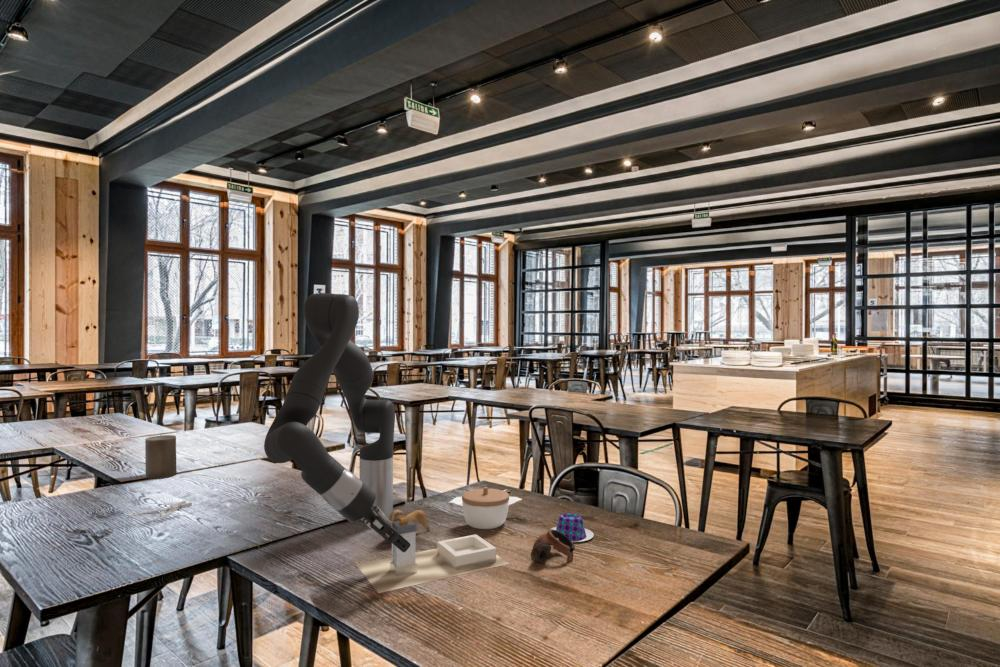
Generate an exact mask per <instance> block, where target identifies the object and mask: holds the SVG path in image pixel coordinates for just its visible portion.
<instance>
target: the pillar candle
mask: <svg viewBox="0 0 1000 667" xmlns="http://www.w3.org/2000/svg"><path fill="white" fill-rule="evenodd" d="M176 436H177V435H173V434H167V435H162V433H160V435H155V436H151V437H150V436H149V437H146V438H145V441H144V442H145V447H144V448H145V457H144V458H145V463H144V464H145V478H146V479H151V480H152V479H153V480H154V479H157V480H158V479H166V478H170V477H174V476H176V475H177V471H178V470H177V468H178V467H177V437H176Z"/></svg>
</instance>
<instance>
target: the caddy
mask: <svg viewBox="0 0 1000 667" xmlns="http://www.w3.org/2000/svg"><path fill="white" fill-rule="evenodd" d="M436 542H437V543H436V544H437V545H436V546H437V548H436V549H437V555H438V556H440V557H441V558H442V559H443V560H444V561H445V562H447V563H448V564H449V565H450V566H451V567H452V568H454V569H455V570H460V569H464V568H469V567H473V566H478V565H483V564H487V563H492V562H496V555H497V547H495V546H494V545H492V544H491V543H489V542H488V541H486V539H484V538H482V537H481V536H479V535H478V534H470V535H466V536H460V537H455V538H450V539H449V538H448V539H444V540H439V541H436Z"/></svg>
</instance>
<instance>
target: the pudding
mask: <svg viewBox="0 0 1000 667" xmlns="http://www.w3.org/2000/svg"><path fill="white" fill-rule="evenodd" d="M550 529H553V530H556V531H558V532H560V533H562V534H563V535H565V536H566V537H567V538H568V539H570V540H571V541H572V543H581V542H585V541H589V540H591V539H593V538H594V536H595V535H594V533H593V531H592V530H590V529H588V528H585V525H584V520H583V518H582V516H581V515H579V514H576V513H568V512H567V513H563V514H561V515H559V517H558V521H557V525H556V526H554V527H551V528H550ZM556 539H557V540H559V538H556Z"/></svg>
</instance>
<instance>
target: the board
mask: <svg viewBox="0 0 1000 667" xmlns="http://www.w3.org/2000/svg"><path fill="white" fill-rule="evenodd" d="M390 562H392V556H391V557H386V558H382V559H376V560H372V561H366V562H362V563H361V562H360V563H356V564H355V566H356V567H357V568H358V570H359V571H360V572H361V573H362V575H363V576H364V578H366V580H367V581H368V583H369V584H370V585H371V586H372V587H373V589H374V590H375V591H376V593H377V594H382V593H386V592H390V591H396V590H400V589H403V588H408V587H409V588H410V587H413V586H417V585H422V584H426V583H430V582H431V583H432V582H434V581H440V580H444V579H448V578H453V577H457V576H461V575H466V574H471V573H475V572H480V571H485V570H489V569H493V568H497V567H501V566H507V565H510V563H509V562H508V561H506V559H504V558H502V557H501V556H499V555H498V554H496V562H492V563H487V564H483V565H478V566H473V567H469V568H464V569H460V570H455V569H454V568H452V567H451V566H450V565H449V564H448V563H447V562H445V561H444V560H443V559H442V558H441V557H440V556H438V555H437V548H432V549H427V550H421V551H418V552H417V551H415V562H416V563H417V572H416V573H411V574H407V575H402V576H397V577H396V576H395V575H394V574H393V573H392V572H391V571H390Z"/></svg>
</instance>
